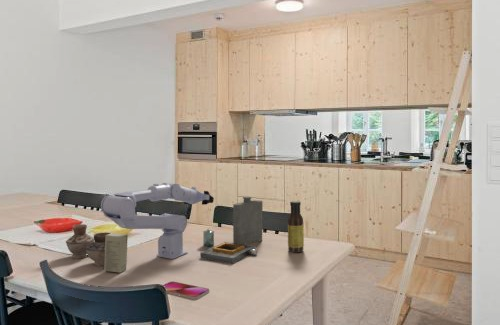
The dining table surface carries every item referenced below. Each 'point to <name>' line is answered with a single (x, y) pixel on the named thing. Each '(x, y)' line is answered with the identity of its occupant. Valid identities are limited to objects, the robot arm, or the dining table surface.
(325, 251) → the dining table surface
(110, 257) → the skincare box
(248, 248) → the grey square hole board
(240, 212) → the hip flask
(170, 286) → the smartphone
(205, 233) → the spout can
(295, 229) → the sauce bottle
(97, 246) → the pottery
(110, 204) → the robot arm
